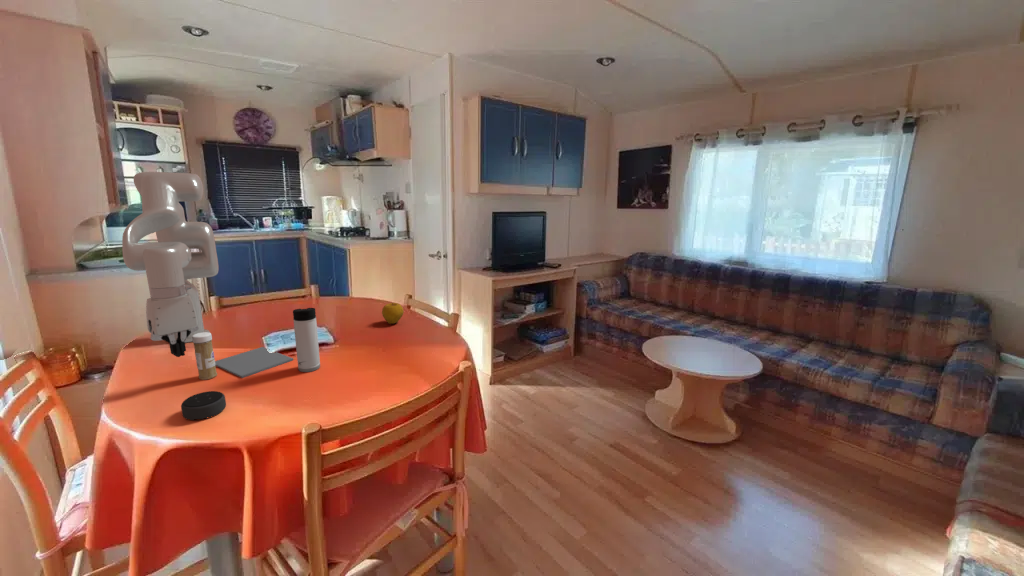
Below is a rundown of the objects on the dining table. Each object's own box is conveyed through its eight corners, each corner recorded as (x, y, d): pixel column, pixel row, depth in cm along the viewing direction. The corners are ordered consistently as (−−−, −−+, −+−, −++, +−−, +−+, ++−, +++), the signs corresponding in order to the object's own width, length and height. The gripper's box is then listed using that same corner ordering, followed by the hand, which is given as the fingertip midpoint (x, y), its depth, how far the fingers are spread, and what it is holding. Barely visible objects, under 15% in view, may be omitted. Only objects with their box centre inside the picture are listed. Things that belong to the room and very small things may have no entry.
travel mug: (298, 374, 126) (292, 311, 121) (298, 366, 131) (292, 306, 127) (320, 370, 129) (315, 309, 124) (319, 362, 134) (314, 304, 130)
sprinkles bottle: (217, 378, 122) (210, 335, 119) (198, 381, 119) (190, 338, 116) (217, 372, 126) (211, 330, 122) (199, 375, 123) (192, 333, 120)
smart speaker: (212, 422, 100) (210, 407, 99) (174, 422, 99) (171, 407, 98) (233, 403, 109) (232, 389, 108) (198, 403, 108) (196, 390, 107)
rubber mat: (211, 364, 131) (211, 362, 131) (262, 348, 144) (262, 346, 144) (242, 378, 122) (242, 376, 122) (293, 360, 136) (293, 358, 136)
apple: (400, 326, 171) (399, 306, 169) (379, 326, 171) (378, 305, 169) (406, 320, 180) (405, 300, 178) (386, 319, 180) (385, 299, 178)
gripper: (193, 285, 119) (203, 344, 123) (126, 295, 107) (139, 361, 111) (206, 288, 115) (215, 349, 120) (138, 300, 103) (151, 367, 107)
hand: (179, 355), depth 115 cm, fingers closed
